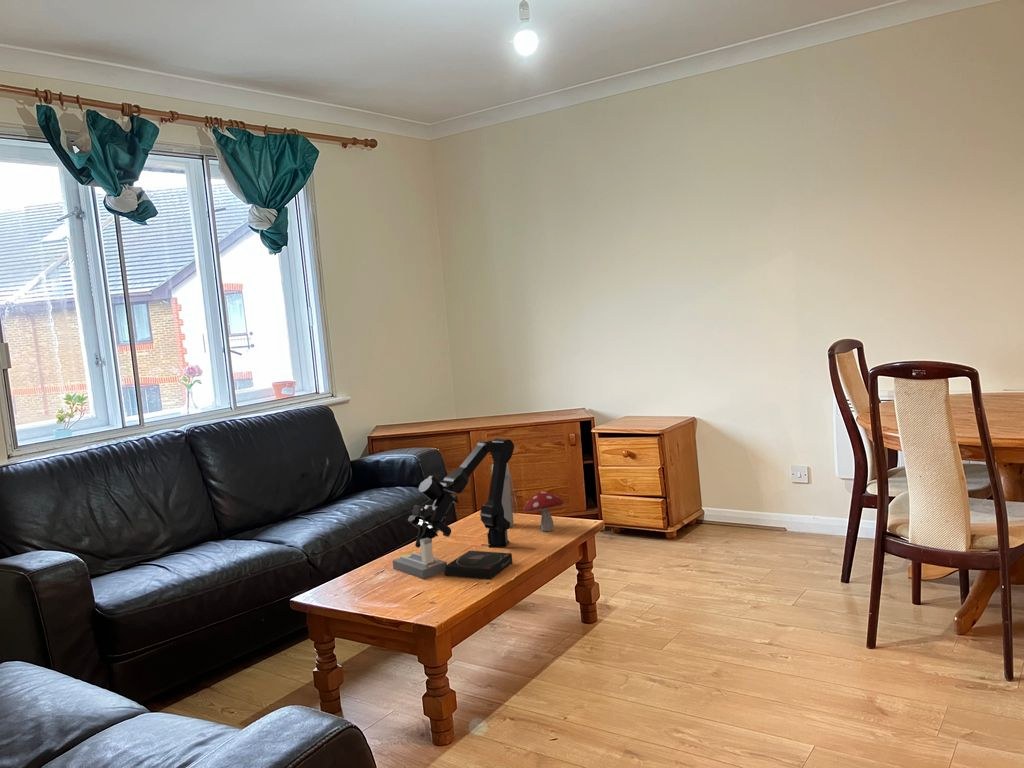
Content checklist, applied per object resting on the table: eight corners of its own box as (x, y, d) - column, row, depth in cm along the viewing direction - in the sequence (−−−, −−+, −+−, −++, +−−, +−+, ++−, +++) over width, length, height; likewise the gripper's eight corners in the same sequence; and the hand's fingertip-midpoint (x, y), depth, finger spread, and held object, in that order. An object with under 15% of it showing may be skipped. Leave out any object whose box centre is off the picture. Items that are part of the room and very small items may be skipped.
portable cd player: (468, 561, 279) (467, 550, 279) (512, 564, 272) (511, 553, 271) (444, 577, 265) (443, 565, 264) (490, 581, 257) (489, 569, 257)
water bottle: (494, 529, 316) (488, 466, 314) (497, 523, 324) (492, 462, 321) (517, 528, 314) (511, 465, 312) (520, 522, 322) (515, 461, 320)
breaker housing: (417, 560, 283) (416, 549, 283) (447, 570, 270) (446, 559, 269) (393, 568, 277) (392, 557, 276) (423, 579, 263) (422, 567, 263)
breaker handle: (429, 560, 271) (426, 537, 270) (433, 562, 269) (431, 538, 268) (421, 562, 269) (419, 539, 268) (426, 564, 267) (424, 541, 266)
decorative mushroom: (520, 536, 303) (516, 497, 302) (531, 524, 318) (528, 487, 317) (560, 536, 298) (557, 497, 297) (570, 524, 313) (567, 487, 312)
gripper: (409, 492, 279) (385, 530, 273) (440, 498, 265) (416, 539, 259) (430, 508, 285) (407, 546, 279) (461, 516, 271) (438, 556, 265)
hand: (416, 547), depth 270 cm, fingers closed
